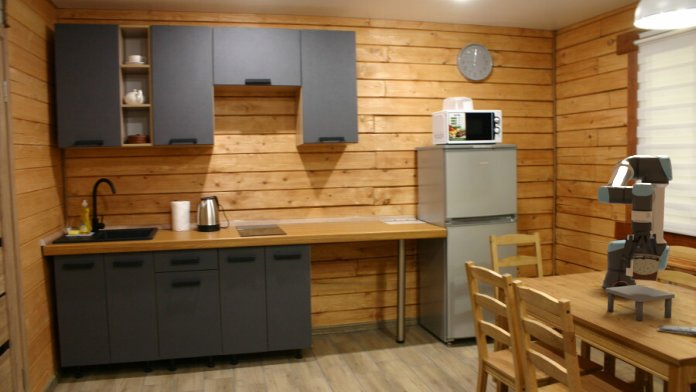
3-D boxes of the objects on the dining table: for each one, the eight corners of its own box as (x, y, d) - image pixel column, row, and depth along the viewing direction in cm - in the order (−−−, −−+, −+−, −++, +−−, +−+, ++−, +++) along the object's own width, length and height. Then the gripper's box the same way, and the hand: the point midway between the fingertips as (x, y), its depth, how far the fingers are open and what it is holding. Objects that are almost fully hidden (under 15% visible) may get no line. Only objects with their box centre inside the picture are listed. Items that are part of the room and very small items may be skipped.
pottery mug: (640, 300, 265) (633, 286, 262) (619, 308, 266) (613, 294, 264) (629, 287, 276) (623, 273, 274) (609, 295, 278) (603, 281, 275)
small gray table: (638, 306, 253) (638, 284, 252) (673, 317, 236) (674, 294, 235) (604, 310, 247) (605, 288, 246) (639, 322, 230) (639, 298, 229)
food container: (658, 278, 241) (659, 254, 240) (660, 281, 235) (661, 256, 234) (625, 276, 245) (626, 252, 245) (627, 279, 240) (627, 255, 239)
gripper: (626, 223, 231) (625, 278, 233) (670, 220, 238) (668, 274, 240) (612, 221, 238) (610, 275, 240) (655, 219, 245) (653, 271, 247)
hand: (639, 274), depth 240 cm, fingers closed on food container, 10 cm apart
